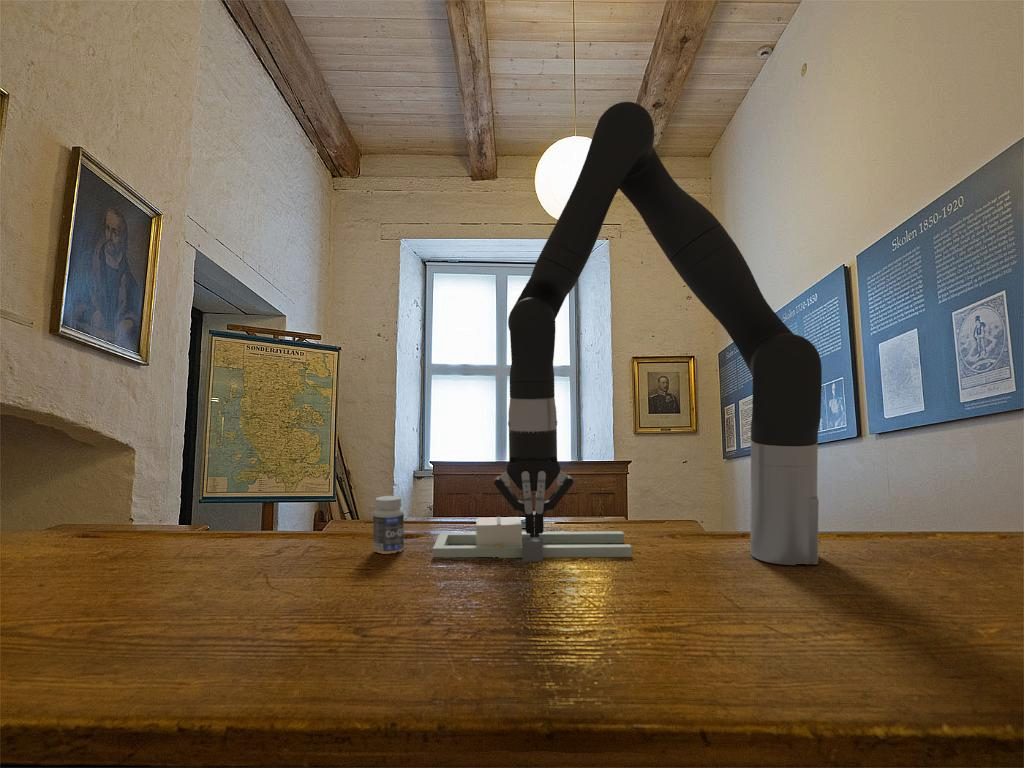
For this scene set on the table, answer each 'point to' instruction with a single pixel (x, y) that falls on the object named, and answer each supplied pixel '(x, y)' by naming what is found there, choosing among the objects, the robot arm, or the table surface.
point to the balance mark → (498, 545)
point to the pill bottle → (388, 524)
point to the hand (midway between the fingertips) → (534, 536)
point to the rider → (499, 531)
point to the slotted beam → (536, 546)
